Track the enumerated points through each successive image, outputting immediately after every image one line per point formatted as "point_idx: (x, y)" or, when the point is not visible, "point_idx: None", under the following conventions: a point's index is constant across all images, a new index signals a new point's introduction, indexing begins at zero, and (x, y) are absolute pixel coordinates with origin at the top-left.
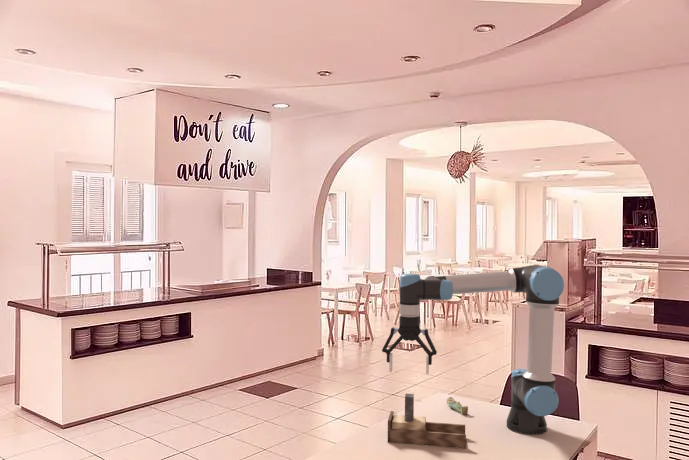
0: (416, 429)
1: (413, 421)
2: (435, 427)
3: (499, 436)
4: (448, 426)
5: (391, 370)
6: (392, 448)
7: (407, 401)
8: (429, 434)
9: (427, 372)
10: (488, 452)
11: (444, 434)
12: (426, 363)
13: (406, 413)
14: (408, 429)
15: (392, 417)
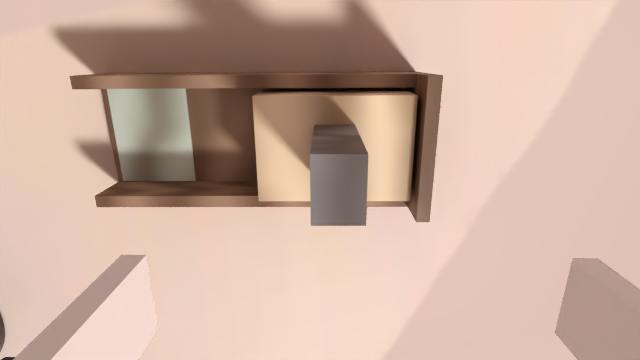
0: (295, 93)
1: (311, 126)
2: (226, 190)
3: (9, 225)
4: (169, 192)
5: (585, 269)
6: (392, 8)
7: (347, 147)
8: (236, 74)
9: (119, 265)
10: (15, 56)
11: (167, 75)
12: (53, 352)
13: (348, 131)
14: (333, 92)
15: (416, 169)
